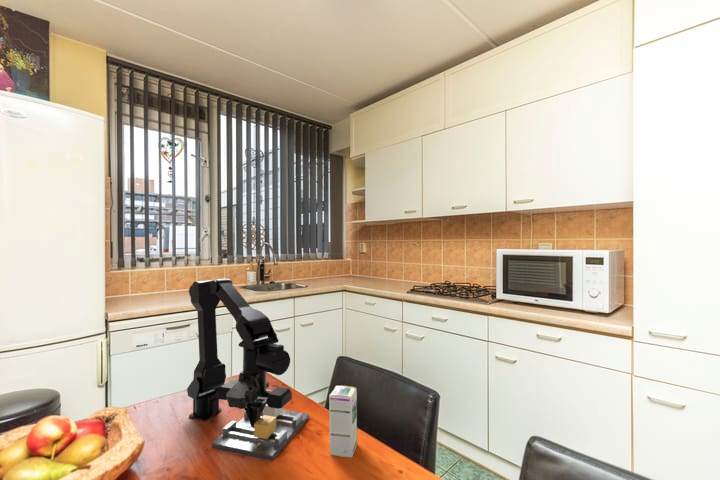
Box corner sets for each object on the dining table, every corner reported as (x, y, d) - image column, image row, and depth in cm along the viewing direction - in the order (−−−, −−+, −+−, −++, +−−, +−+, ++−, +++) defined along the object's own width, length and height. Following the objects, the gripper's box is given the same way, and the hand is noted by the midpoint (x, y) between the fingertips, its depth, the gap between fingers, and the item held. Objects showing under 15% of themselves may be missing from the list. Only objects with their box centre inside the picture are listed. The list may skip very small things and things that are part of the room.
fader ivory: (263, 421, 91) (263, 404, 92) (271, 413, 96) (271, 397, 96) (274, 423, 90) (274, 406, 91) (282, 415, 95) (282, 399, 95)
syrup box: (352, 458, 78) (352, 396, 78) (328, 455, 79) (328, 394, 79) (357, 444, 83) (357, 386, 84) (335, 441, 85) (335, 384, 85)
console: (211, 447, 82) (211, 435, 82) (258, 409, 101) (258, 399, 101) (271, 460, 77) (272, 447, 77) (309, 418, 96) (309, 407, 96)
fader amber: (253, 441, 82) (254, 423, 82) (263, 432, 86) (264, 414, 86) (266, 444, 81) (266, 425, 81) (276, 434, 85) (276, 416, 85)
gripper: (201, 373, 80) (200, 438, 79) (269, 382, 74) (268, 452, 74) (232, 358, 90) (231, 415, 90) (293, 365, 85) (292, 426, 85)
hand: (254, 427), depth 84 cm, fingers closed
